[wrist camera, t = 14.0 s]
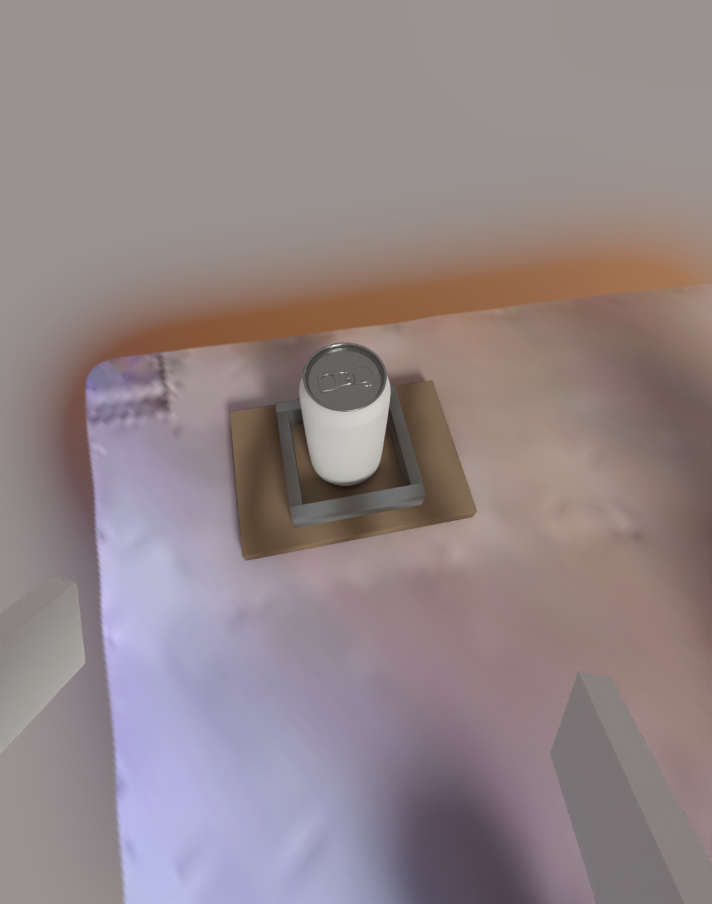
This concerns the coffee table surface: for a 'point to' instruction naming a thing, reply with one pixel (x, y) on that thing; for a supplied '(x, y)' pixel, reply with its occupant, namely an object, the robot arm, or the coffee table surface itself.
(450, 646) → the coffee table surface
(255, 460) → the wooden board with frame
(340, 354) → the can
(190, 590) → the coffee table surface
